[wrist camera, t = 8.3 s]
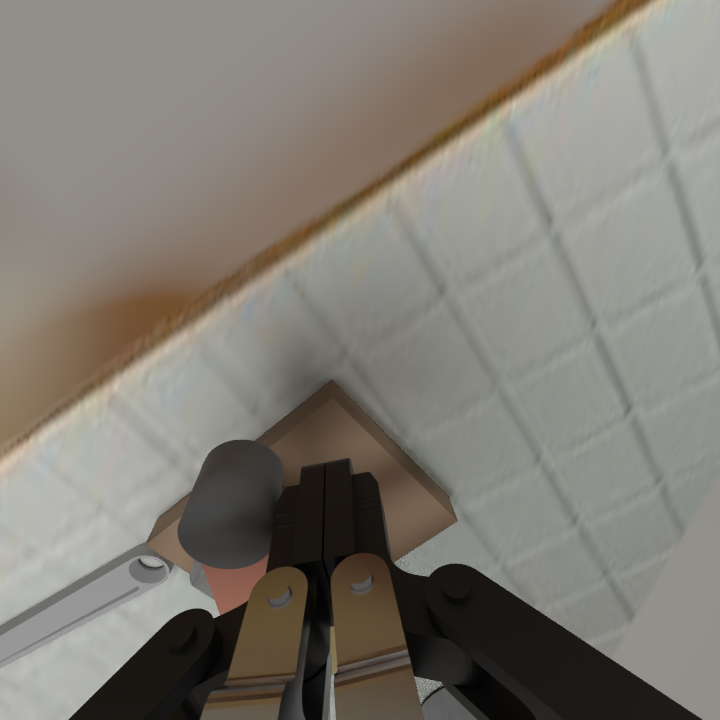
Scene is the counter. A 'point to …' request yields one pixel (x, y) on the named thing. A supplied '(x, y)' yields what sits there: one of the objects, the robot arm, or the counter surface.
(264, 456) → the valve lever
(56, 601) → the adjustable wrench
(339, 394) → the mounting board
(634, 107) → the counter surface
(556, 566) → the counter surface
